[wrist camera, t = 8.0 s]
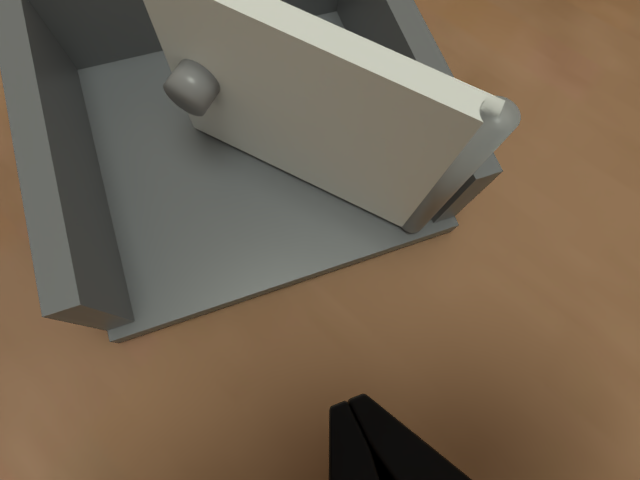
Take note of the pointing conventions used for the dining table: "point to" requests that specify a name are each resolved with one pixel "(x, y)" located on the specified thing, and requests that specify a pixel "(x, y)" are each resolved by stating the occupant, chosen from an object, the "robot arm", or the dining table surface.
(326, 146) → the side door
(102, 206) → the grey open box
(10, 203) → the dining table surface
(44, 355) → the dining table surface
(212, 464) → the dining table surface
